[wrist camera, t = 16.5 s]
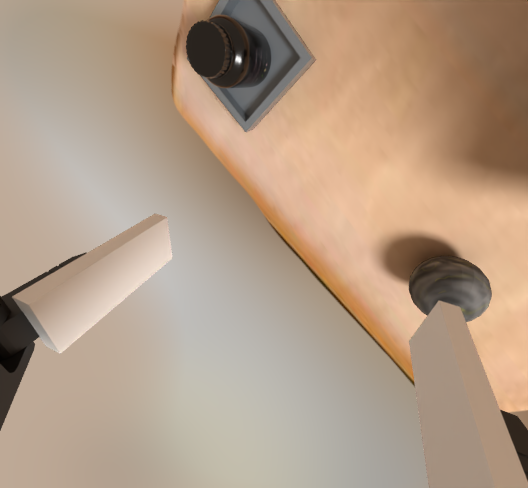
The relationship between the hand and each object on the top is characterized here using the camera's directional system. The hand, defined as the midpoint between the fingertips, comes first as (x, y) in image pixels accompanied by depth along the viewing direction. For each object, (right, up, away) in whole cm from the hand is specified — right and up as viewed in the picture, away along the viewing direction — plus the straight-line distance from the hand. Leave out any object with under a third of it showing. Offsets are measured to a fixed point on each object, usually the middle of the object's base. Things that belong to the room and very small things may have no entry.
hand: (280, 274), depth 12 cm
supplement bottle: (-3, +28, +23) cm, 36 cm away
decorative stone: (+29, -3, +29) cm, 41 cm away
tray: (-2, +28, +23) cm, 37 cm away
